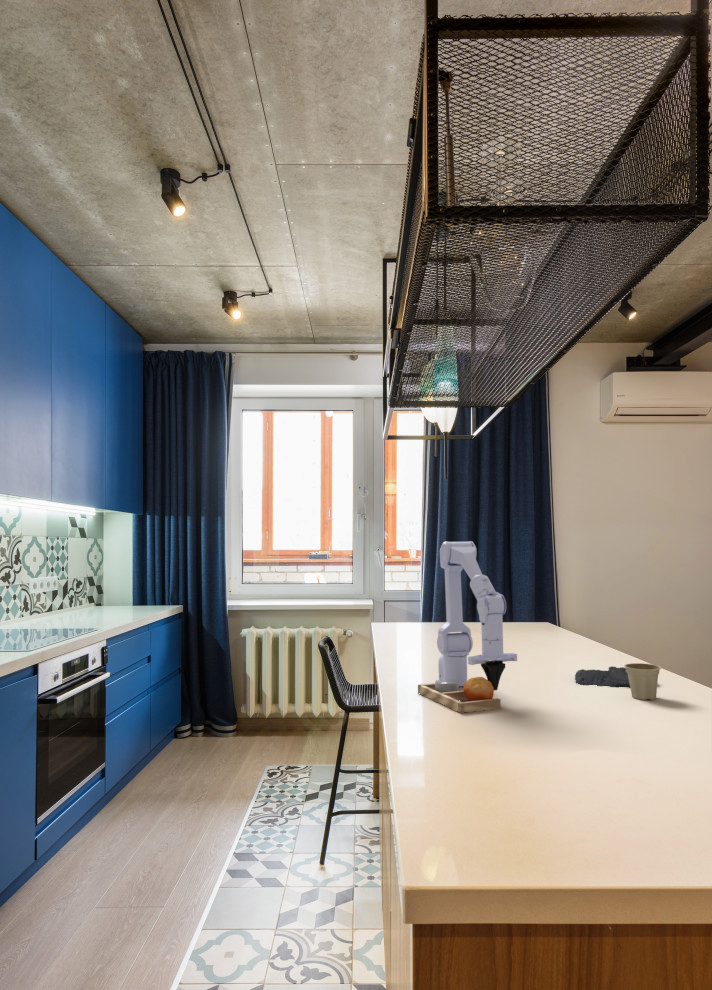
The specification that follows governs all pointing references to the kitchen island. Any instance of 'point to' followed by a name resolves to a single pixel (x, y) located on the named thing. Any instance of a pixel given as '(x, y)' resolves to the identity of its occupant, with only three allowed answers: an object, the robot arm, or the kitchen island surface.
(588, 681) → the grey elongated lump
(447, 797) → the kitchen island surface
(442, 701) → the wooden tray
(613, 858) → the kitchen island surface
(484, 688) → the fruit
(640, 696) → the flower pot
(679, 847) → the kitchen island surface
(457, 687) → the grey round dome
